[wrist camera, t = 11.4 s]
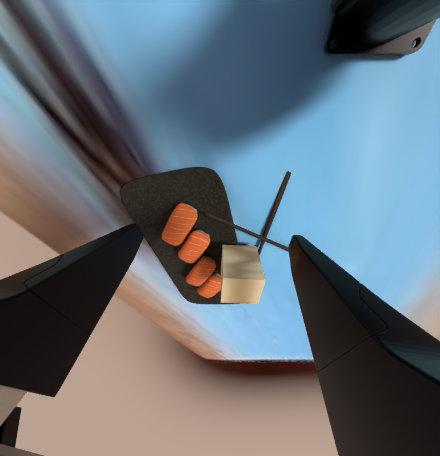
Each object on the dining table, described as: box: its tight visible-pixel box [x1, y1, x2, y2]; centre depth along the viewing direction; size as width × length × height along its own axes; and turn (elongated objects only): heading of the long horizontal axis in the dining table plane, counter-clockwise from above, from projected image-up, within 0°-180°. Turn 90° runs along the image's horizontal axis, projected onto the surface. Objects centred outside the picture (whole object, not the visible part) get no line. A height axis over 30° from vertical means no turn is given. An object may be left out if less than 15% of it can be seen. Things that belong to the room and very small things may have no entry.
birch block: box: [221, 245, 266, 304], centre depth 22 cm, size 5×5×6 cm
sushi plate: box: [121, 167, 291, 304], centre depth 25 cm, size 29×30×4 cm
